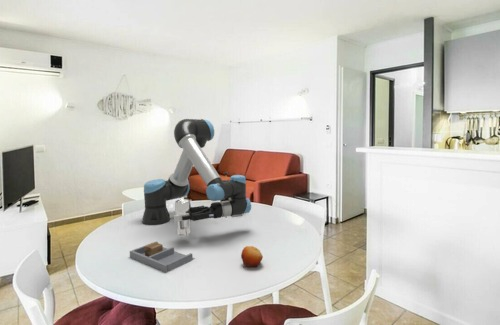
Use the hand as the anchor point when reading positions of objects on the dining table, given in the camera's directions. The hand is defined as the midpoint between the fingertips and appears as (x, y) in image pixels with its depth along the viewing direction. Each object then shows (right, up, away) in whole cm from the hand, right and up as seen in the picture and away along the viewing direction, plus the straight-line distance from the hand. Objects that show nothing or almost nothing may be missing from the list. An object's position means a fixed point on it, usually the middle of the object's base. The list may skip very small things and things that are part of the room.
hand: (172, 216), depth 128 cm
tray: (-1, -15, -12) cm, 19 cm away
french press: (+18, -6, +73) cm, 75 cm away
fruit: (+35, -15, -19) cm, 42 cm away
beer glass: (+4, -8, +3) cm, 10 cm away
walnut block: (-5, -14, -9) cm, 17 cm away
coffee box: (+26, -8, +49) cm, 56 cm away
